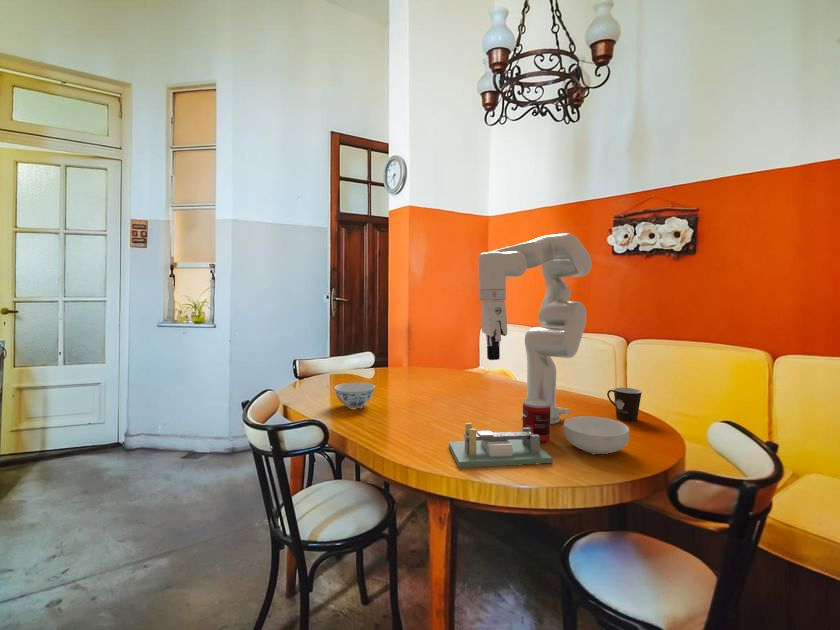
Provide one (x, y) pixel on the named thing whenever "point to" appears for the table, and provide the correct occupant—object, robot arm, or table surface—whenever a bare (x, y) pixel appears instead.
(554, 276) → the robot arm
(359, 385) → the chinaware
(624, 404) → the coffee mug
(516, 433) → the grey hinged clamp lever
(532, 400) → the canned food
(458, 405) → the table surface
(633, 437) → the table surface
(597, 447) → the cereal bowl
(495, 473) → the table surface
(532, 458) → the clamp board
